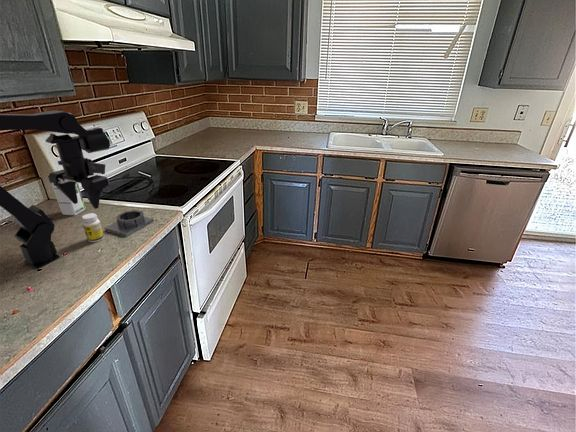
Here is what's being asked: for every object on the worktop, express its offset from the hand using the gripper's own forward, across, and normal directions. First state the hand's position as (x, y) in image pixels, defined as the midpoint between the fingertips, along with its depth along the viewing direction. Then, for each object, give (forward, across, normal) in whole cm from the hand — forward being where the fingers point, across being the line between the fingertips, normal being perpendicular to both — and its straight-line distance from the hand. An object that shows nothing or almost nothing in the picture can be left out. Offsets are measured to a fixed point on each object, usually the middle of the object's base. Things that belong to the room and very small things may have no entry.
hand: (86, 205), depth 98 cm
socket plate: (+12, -3, -11) cm, 16 cm away
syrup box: (+12, +26, -11) cm, 31 cm away
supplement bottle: (+12, 0, 0) cm, 12 cm away
